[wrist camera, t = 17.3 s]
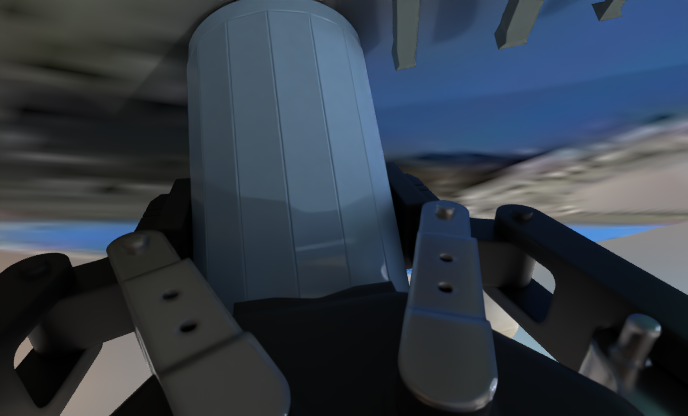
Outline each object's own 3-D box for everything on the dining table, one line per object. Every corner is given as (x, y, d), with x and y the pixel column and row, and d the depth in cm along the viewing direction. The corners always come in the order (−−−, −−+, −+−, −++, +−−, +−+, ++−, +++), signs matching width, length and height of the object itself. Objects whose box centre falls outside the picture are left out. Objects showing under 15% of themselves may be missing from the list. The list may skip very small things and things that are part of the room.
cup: (289, -48, 9) (352, 386, 7) (389, 67, 14) (450, 344, 12) (147, 60, 12) (147, 400, 9) (272, 125, 17) (297, 361, 14)
